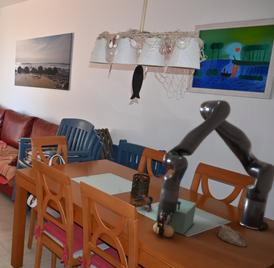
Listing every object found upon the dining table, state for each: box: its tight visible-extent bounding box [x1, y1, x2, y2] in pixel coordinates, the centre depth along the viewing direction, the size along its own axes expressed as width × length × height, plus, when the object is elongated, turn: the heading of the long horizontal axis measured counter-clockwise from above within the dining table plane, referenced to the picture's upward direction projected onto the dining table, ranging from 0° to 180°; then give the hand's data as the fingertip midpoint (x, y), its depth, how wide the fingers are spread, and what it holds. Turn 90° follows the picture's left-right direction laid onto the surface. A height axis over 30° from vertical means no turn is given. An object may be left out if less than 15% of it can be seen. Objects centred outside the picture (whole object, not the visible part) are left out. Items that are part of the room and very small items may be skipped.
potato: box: [152, 222, 175, 238], centre depth 150 cm, size 9×5×5 cm, turn 50°
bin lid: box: [157, 198, 197, 215], centre depth 160 cm, size 18×13×5 cm
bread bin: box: [155, 204, 197, 235], centre depth 162 cm, size 17×13×10 cm
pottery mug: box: [132, 194, 154, 212], centre depth 180 cm, size 12×10×8 cm
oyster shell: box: [217, 224, 246, 247], centre depth 150 cm, size 10×12×5 cm
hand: (162, 233), depth 150 cm, fingers open, 5 cm apart
